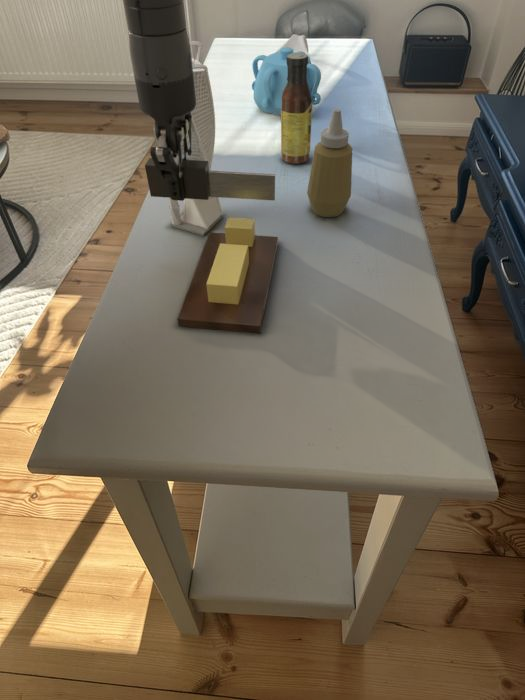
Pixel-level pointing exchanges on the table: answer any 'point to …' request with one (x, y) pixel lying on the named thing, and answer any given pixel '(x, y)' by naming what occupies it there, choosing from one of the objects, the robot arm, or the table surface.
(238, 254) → the butter
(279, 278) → the table surface
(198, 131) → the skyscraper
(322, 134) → the squeeze bottle
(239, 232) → the butter slice
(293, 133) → the sauce bottle
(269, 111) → the decorative pot
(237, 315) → the board
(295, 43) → the spoon rest
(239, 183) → the knife
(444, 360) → the table surface
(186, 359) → the table surface
